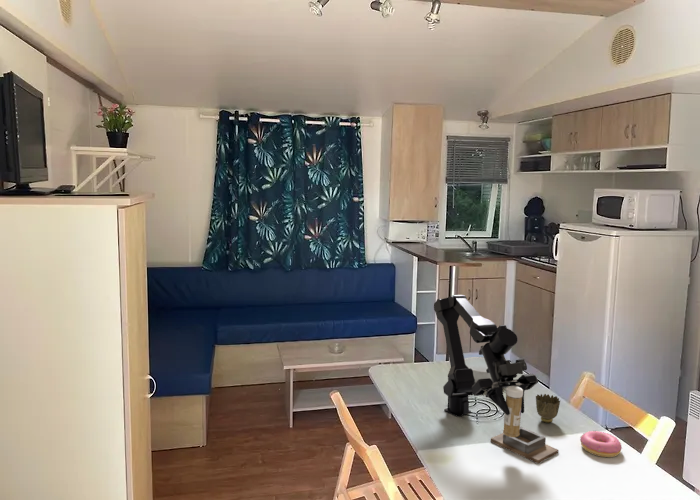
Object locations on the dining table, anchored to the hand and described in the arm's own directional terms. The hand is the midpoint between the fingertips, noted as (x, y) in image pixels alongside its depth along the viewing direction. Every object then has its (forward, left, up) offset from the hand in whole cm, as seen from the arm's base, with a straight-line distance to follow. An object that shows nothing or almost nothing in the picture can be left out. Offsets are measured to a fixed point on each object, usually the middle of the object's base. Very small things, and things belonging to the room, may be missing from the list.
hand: (515, 413), depth 149 cm
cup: (-8, +29, -13) cm, 33 cm away
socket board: (-2, +8, -13) cm, 16 cm away
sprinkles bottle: (-1, 0, -7) cm, 7 cm away
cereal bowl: (-44, +41, -13) cm, 62 cm away
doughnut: (+12, +25, -14) cm, 31 cm away
